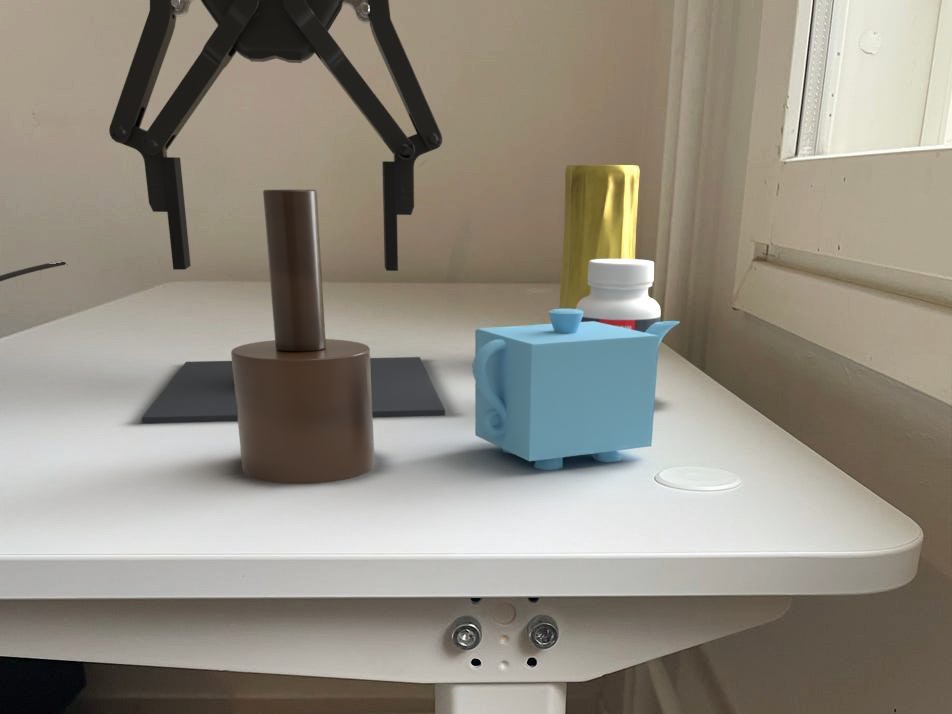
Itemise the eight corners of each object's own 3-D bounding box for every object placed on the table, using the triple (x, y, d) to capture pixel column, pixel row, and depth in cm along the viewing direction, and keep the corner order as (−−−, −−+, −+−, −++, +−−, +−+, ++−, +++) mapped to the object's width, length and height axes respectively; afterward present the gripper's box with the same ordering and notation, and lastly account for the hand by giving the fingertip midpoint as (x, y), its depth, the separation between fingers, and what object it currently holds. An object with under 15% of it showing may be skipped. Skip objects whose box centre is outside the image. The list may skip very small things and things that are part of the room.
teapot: (638, 433, 59) (647, 297, 56) (703, 457, 54) (716, 309, 51) (449, 455, 54) (448, 307, 51) (501, 483, 49) (503, 322, 46)
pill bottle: (589, 418, 63) (596, 265, 59) (559, 401, 67) (564, 258, 63) (667, 413, 64) (679, 263, 60) (633, 397, 69) (642, 256, 65)
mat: (186, 369, 78) (185, 361, 78) (420, 364, 81) (419, 356, 80) (142, 427, 60) (141, 417, 60) (445, 419, 62) (445, 409, 62)
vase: (593, 379, 75) (603, 164, 69) (536, 368, 79) (541, 165, 73) (649, 370, 78) (663, 165, 72) (592, 360, 82) (601, 165, 76)
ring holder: (248, 456, 54) (222, 189, 49) (372, 452, 55) (361, 188, 50) (237, 490, 48) (207, 190, 43) (377, 485, 49) (364, 190, 44)
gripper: (18, -156, 53) (78, 272, 62) (489, -130, 56) (482, 274, 65) (53, -121, 60) (103, 262, 69) (472, -99, 63) (468, 264, 72)
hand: (288, 269), depth 67 cm, fingers open, 13 cm apart
